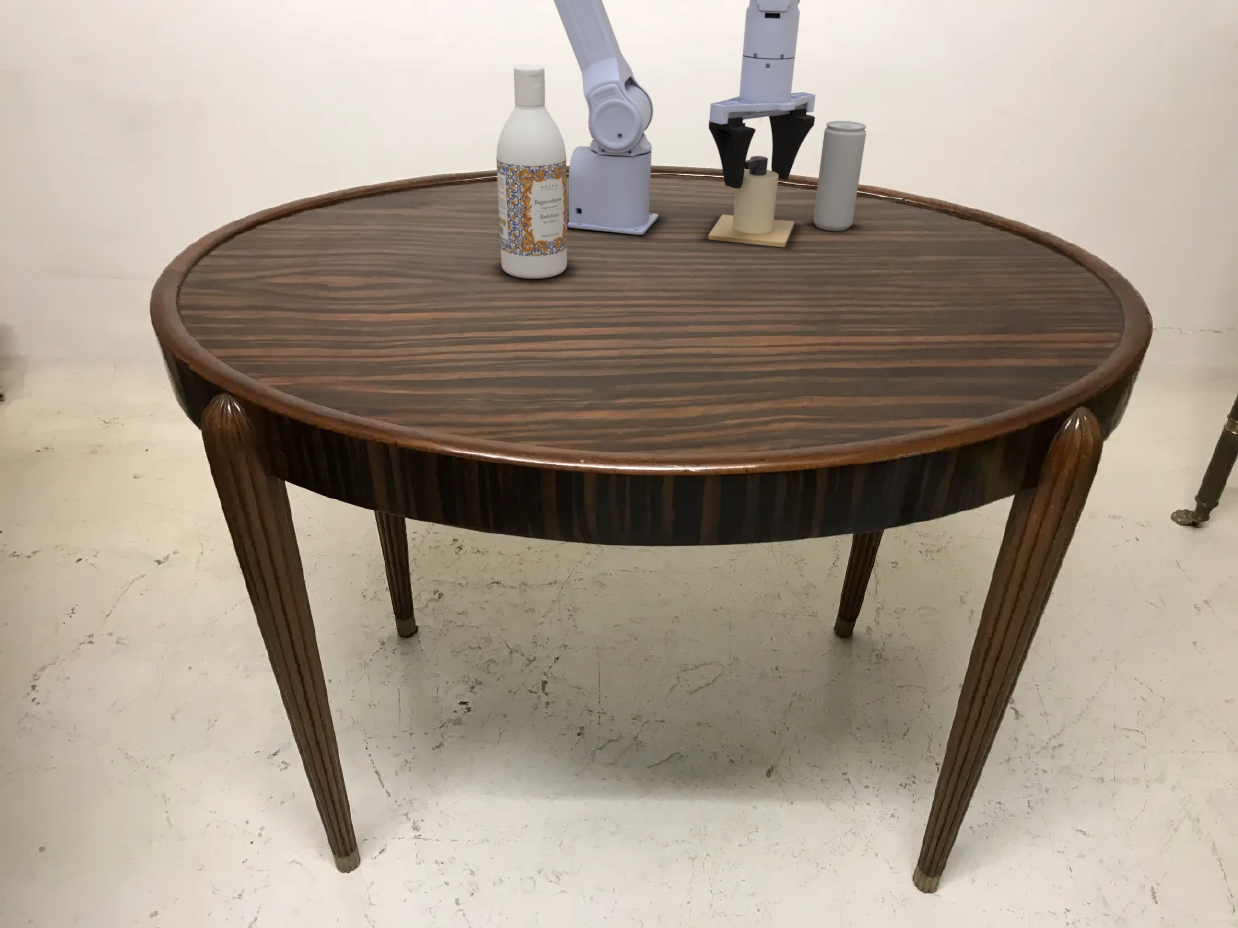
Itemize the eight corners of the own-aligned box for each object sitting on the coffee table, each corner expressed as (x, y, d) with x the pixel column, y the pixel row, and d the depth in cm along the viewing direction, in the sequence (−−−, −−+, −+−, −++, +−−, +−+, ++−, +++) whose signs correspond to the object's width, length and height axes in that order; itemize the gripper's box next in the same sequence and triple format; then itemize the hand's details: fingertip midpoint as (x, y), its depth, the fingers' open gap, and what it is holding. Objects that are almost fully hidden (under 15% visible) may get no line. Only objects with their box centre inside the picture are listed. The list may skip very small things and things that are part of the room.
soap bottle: (746, 220, 114) (752, 151, 110) (780, 227, 112) (787, 157, 108) (722, 229, 111) (727, 158, 106) (757, 237, 108) (764, 165, 104)
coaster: (707, 239, 109) (708, 234, 109) (721, 219, 116) (722, 214, 116) (784, 247, 107) (785, 242, 107) (794, 226, 114) (794, 221, 114)
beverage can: (849, 221, 117) (864, 121, 110) (854, 233, 112) (869, 129, 106) (810, 220, 117) (823, 120, 111) (813, 231, 113) (827, 128, 107)
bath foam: (521, 285, 95) (513, 74, 84) (490, 265, 100) (479, 64, 89) (579, 273, 98) (579, 69, 88) (546, 255, 103) (542, 60, 93)
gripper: (745, 65, 95) (734, 198, 102) (841, 56, 103) (824, 181, 110) (700, 57, 100) (692, 184, 107) (794, 49, 108) (781, 168, 115)
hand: (756, 182), depth 109 cm, fingers open, 7 cm apart
